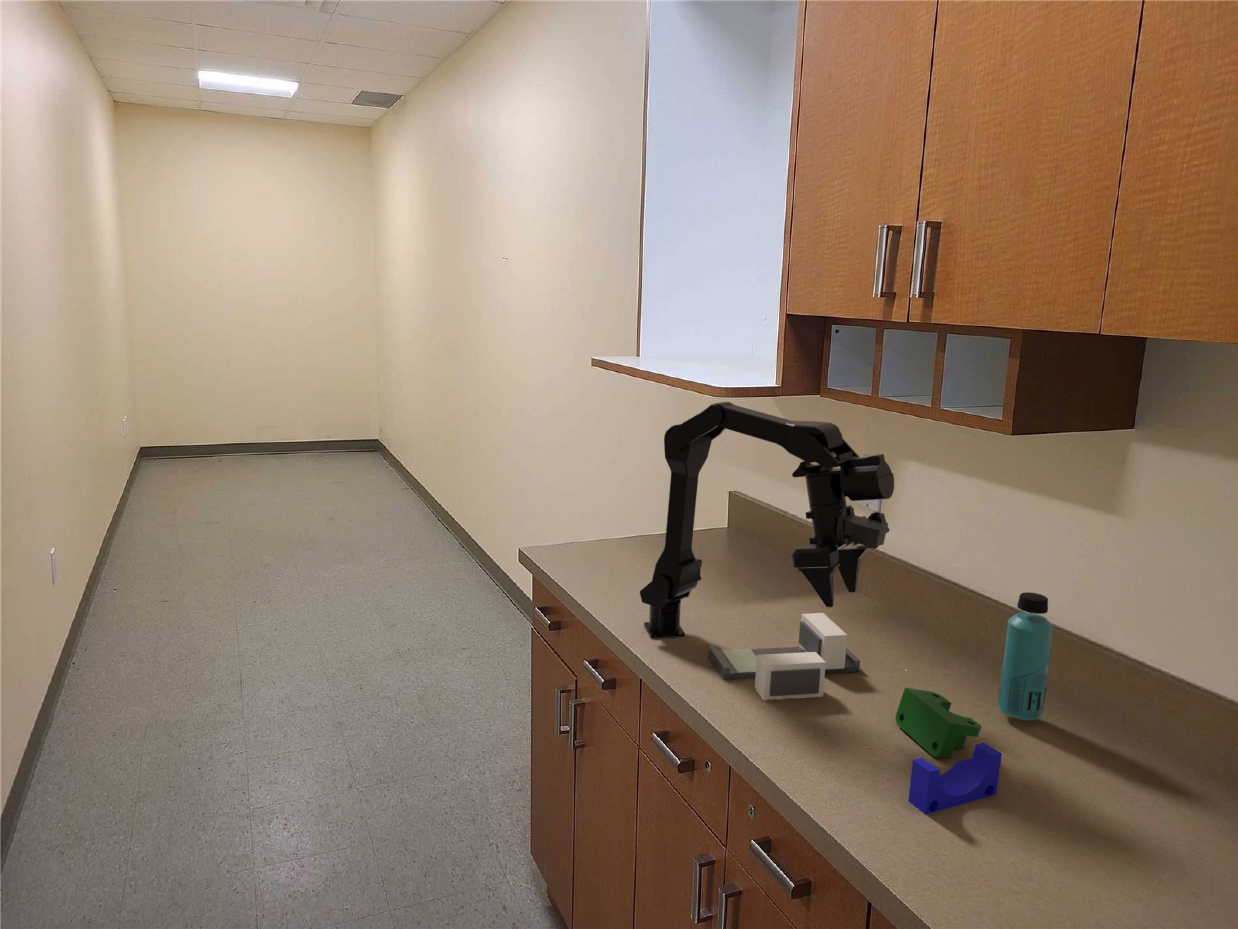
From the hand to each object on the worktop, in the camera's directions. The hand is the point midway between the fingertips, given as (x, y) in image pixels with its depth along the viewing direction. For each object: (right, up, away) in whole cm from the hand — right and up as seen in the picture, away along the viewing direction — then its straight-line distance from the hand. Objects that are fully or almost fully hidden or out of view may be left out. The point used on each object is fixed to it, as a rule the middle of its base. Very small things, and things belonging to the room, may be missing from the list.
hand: (841, 599), depth 140 cm
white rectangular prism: (-8, -15, +1) cm, 17 cm away
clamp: (+11, -19, -12) cm, 25 cm away
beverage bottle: (+26, -18, -5) cm, 32 cm away
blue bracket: (+7, -22, -26) cm, 35 cm away
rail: (-7, -13, +12) cm, 19 cm away
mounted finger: (-1, -12, +13) cm, 18 cm away
